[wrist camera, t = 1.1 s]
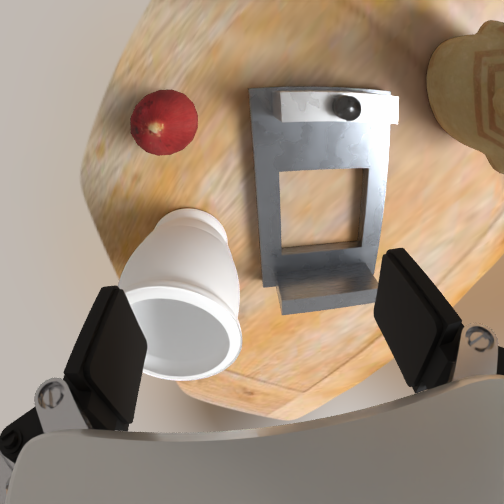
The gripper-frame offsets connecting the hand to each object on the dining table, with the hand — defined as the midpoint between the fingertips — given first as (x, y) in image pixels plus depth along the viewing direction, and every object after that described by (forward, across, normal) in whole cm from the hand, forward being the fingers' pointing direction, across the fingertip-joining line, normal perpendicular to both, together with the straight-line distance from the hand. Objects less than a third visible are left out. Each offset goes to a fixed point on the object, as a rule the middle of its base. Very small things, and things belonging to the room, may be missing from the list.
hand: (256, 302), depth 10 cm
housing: (+22, -8, +4) cm, 24 cm away
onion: (+22, +6, -5) cm, 23 cm away
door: (+20, -9, -5) cm, 22 cm away
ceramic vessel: (+22, -27, -8) cm, 36 cm away
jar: (+22, +7, +9) cm, 25 cm away
